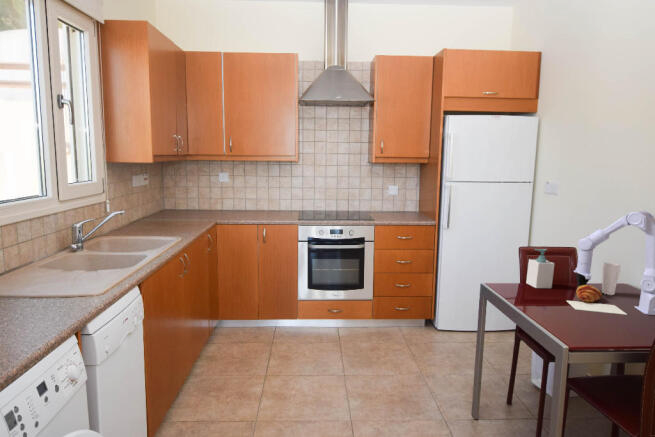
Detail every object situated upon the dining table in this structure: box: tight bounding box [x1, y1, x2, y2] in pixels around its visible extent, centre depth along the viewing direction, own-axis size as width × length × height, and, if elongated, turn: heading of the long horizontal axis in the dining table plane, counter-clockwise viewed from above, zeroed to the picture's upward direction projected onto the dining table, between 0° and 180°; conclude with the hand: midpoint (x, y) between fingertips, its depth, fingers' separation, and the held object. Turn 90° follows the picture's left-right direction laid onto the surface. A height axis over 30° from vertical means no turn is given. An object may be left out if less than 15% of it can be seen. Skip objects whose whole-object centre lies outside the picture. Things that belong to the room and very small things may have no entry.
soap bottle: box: [525, 248, 555, 289], centre depth 220 cm, size 9×9×19 cm
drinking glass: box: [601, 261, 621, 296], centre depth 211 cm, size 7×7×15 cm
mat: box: [565, 300, 628, 316], centre depth 191 cm, size 12×20×1 cm, turn 79°
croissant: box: [575, 284, 603, 303], centre depth 202 cm, size 21×10×8 cm, turn 141°
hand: (580, 289), depth 212 cm, fingers closed
